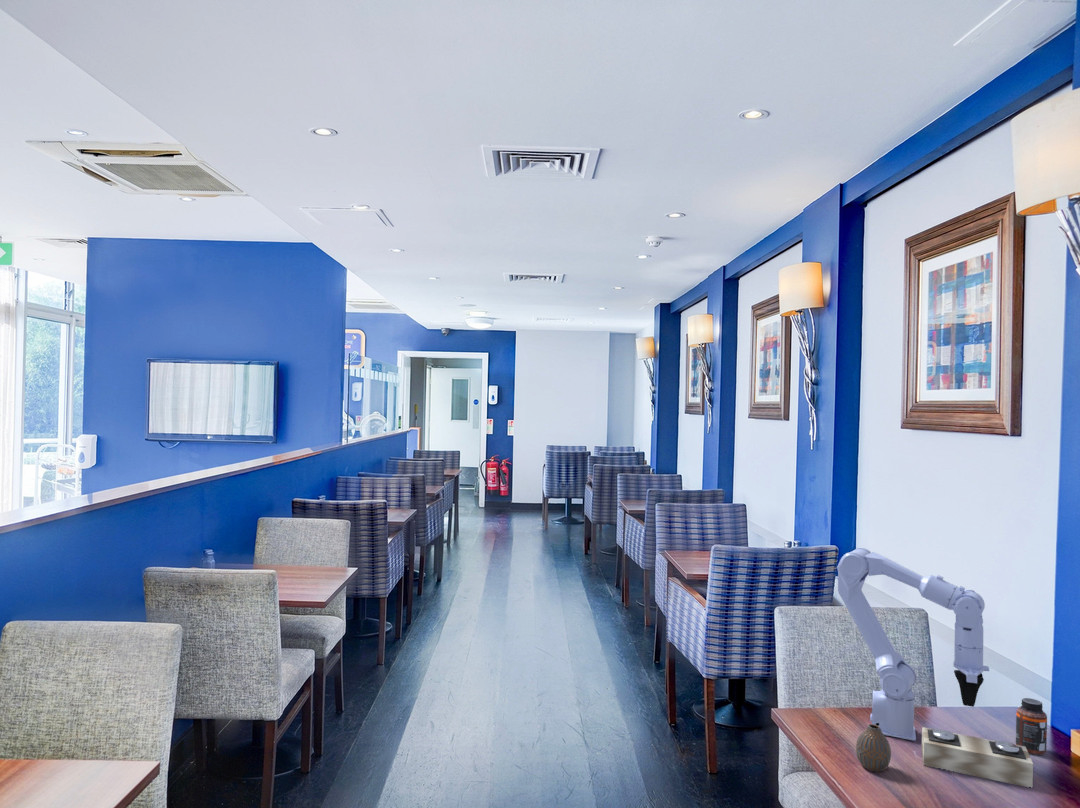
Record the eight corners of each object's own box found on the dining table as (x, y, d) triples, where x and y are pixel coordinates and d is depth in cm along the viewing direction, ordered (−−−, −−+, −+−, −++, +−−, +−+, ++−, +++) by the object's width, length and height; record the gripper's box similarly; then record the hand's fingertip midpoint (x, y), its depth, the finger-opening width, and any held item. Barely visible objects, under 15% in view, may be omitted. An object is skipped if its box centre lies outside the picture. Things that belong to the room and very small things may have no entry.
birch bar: (923, 765, 161) (924, 740, 161) (921, 748, 169) (922, 725, 169) (1032, 788, 152) (1033, 762, 152) (1024, 769, 161) (1025, 745, 161)
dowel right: (996, 769, 157) (997, 747, 157) (993, 761, 161) (994, 739, 161) (1019, 774, 155) (1020, 751, 155) (1016, 766, 159) (1017, 743, 159)
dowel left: (932, 756, 162) (933, 735, 162) (931, 749, 166) (932, 727, 166) (954, 761, 160) (955, 739, 161) (953, 753, 164) (953, 731, 164)
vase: (888, 763, 161) (889, 723, 161) (892, 777, 155) (893, 735, 155) (854, 757, 164) (855, 717, 164) (856, 771, 157) (858, 729, 157)
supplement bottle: (1051, 757, 167) (1052, 707, 167) (1022, 754, 168) (1023, 704, 168) (1039, 746, 173) (1040, 697, 173) (1010, 742, 174) (1012, 694, 174)
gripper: (993, 656, 161) (993, 719, 161) (985, 639, 174) (984, 697, 174) (956, 651, 164) (955, 713, 164) (950, 635, 177) (950, 692, 177)
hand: (968, 705), depth 169 cm, fingers closed
